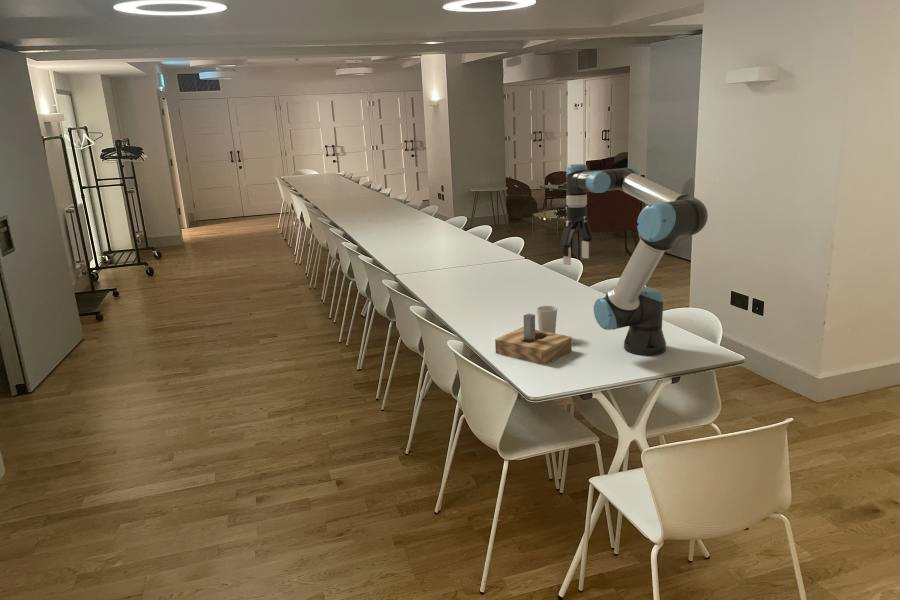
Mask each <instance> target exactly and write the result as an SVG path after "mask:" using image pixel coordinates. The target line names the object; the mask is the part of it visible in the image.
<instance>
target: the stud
mask: <svg viewBox="0 0 900 600" xmlns="http://www.w3.org/2000/svg"><path fill="white" fill-rule="evenodd" d="M523 327H524V342H527V343H531V342H533V341H535V329H536V315H535V314H534V313H533V314H531V313H527V314H524V315H523Z"/></svg>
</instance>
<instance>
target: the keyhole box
mask: <svg viewBox="0 0 900 600" xmlns="http://www.w3.org/2000/svg"><path fill="white" fill-rule="evenodd" d="M572 339H573V337H572V336H569V335H565V334H559V333H556V332H555V333H551V332H546V331H541V330H539V329H536V328H535V341H533V342H531V343H527V342H524V326H522V327H519V328H518V329H515V330H512V331H510V332H508V333H506V334H503V335H502V336H500V337H497V338H495V339H494V340H495V341H494V342H495V343H494V344H495V345H494V346H495V347H494V348H495V354H498V355H503V356H506V357H511V358H513V359H514V358H515V359H517V360H523V361H527V362H531V363H535V364H540V365H544V366H546V365H548V364H550V363H551V362H553V361H555V360H557V359H558V358H561V357H563V356H564V355H566V354H568V353H570V352H571V351H572V350H573V347H572V345H573V343H572V341H573V340H572Z"/></svg>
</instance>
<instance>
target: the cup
mask: <svg viewBox="0 0 900 600" xmlns="http://www.w3.org/2000/svg"><path fill="white" fill-rule="evenodd" d="M536 313H537V314H536V315H537V327H538V330H541V331H546V332H551V333H556V330H557V329H556V328H557V315H558V308H557V307H556V306H553V305H542V306H538V307H536Z"/></svg>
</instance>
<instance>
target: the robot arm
mask: <svg viewBox="0 0 900 600" xmlns="http://www.w3.org/2000/svg"><path fill="white" fill-rule="evenodd" d="M565 177H566V179H565V180H566V183H565V184H566V199H565V200H566V217H568V218H569V219H568V220H564V222H563V228H562V229H563V230H562V233H561V237H560V238H561V239H560V242H559V247H560V248H563V255H562V256H563V257H562V259H563V263H562V264H563V265H566V266H571V265H572V264H571V263H572V260H571V259H572V258H571V257H572V249H571V248H572V247H570V246H571V243H572V241H573V238H574V236H575V234H576V233H577V232H578V233H579V235H580V237H581V239H582V241H581V259H589V258H590V242H593V235H592V230H591V226H590V223H589V222H590V221H589V216H587V214H588V207H587V205H588V193H589V192H590V193H594V194H599V193H600V194H601V193H605V192H607V191H618V190H619V191H621V192H623V193H625V194H627V195H629V196H631V197H634V198H636V199H637V200H639V201H641V202H643V203H645V204H647V205H646V206H645V207H643V209H642V210H641V211H640V212H639V215H638V217H637V220H636V221H637V224H638V225H637V226H636V227H637V228H636V229H637V232H638V237H639V241H638V244H637V245H636V247H635V249H634V251H633V252H632V254H631V256H630V258H629V260H628V262H627V265H626V266H625V268H624V270H623V271H622V273H621V275H620V277H619V279H618V281H617V283H616V285H613V286H611V287H610V288H609V289H608V290H607V292H606V294H605V296H604V297H599V298H598V299H596V300H595V301H594V304H593V313H594V319H595V321H596V323H597V324H598V326H599V327H600V328H602V329H603V330H607V331H610V330H611V331H612V330H613V331H614V330H617V329H621V328H626V327H628V330H627V332H626V335H625V339H624V340H623V349H624V350H625V351H626V352H628V353H630V354H634V355H640V356H655V355H660V354H663V353H665V352H666V351H667V342H666V338H665V335H664V331H663V314H664V313H663V312H664V294H663V291H661V290H659V289H657V288H654V287H649V286H646V285H647V283H648V282H649V280H650V278H651V277H652V274H653V273H654V271H655V269H656V268H657V265H658V264H659V262H660V260H661V259H662V258H663V256H664V254H665V252H668V251H671V250H672V249H673V247H674V246H675V244H676V242H677V241H678V239H679V238H684V237H691V236H694V235H697V234H698V233H700V232H701V231H702V230H703V229H704V228H705V226H706V225H707V222H708V216H709V215H708V209H707V207H706V205H705V204H704V203H703V202H702V201H701V200H699V199H698V198H696V197H695V196H693V195H690V194H687V193H683V194H680V193H678V192H676V191H673V190H672V189H670V188H667V187H665V186H663V185H660V184H658V183H656V182H654V181H651V180H650V179H647V178H645V177H643V176H642V175H640V174H639V171H637V169H635V168H634V167H623V168H622V167H621V168H611V169H601V170H600V169H599V170H588V165H587V164H585V163H572V164H568V165H567V167H566V175H565Z"/></svg>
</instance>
